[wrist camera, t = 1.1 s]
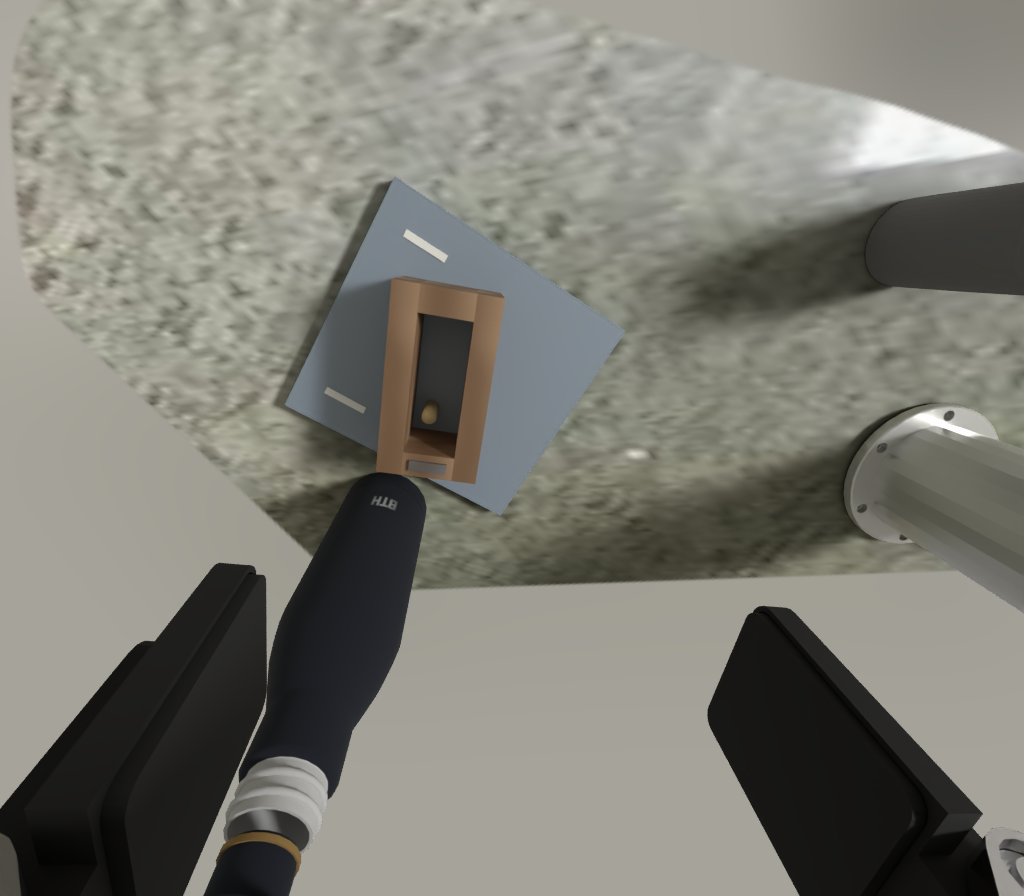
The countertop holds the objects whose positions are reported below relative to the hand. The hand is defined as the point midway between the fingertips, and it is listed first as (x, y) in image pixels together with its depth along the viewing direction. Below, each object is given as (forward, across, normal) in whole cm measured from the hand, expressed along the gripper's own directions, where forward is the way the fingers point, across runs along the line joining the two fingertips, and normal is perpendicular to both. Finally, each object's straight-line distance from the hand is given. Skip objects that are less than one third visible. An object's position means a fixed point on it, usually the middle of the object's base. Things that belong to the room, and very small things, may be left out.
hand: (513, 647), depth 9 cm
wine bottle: (+29, +5, +13) cm, 32 cm away
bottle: (+28, -29, -13) cm, 42 cm away
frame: (+27, +2, +1) cm, 27 cm away
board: (+28, +1, +1) cm, 28 cm away
